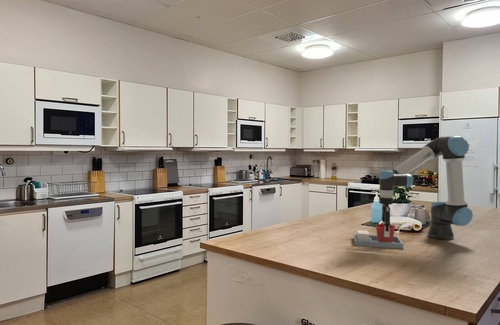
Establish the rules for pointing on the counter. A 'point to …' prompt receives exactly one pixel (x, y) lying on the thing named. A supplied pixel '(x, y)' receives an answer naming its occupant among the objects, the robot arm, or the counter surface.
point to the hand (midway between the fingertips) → (385, 234)
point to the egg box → (362, 235)
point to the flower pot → (381, 233)
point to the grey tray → (374, 242)
